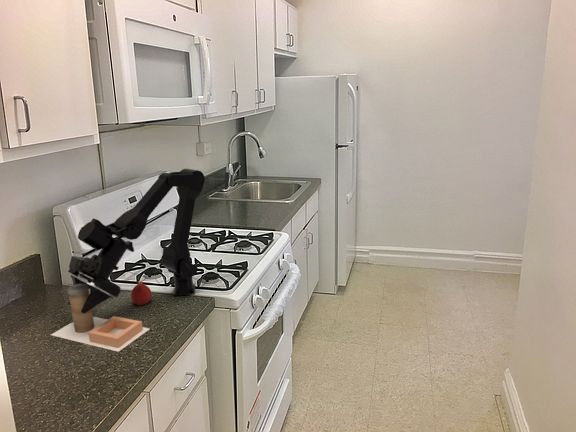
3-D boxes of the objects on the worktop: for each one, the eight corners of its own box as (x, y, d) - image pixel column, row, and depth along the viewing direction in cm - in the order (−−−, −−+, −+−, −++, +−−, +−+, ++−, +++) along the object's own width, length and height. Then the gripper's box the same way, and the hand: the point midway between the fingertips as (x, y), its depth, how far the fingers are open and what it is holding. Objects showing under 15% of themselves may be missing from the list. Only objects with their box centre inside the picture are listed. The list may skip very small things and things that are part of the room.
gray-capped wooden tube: (77, 324, 135) (70, 284, 132) (96, 322, 136) (89, 282, 133) (72, 333, 130) (65, 292, 127) (92, 331, 131) (85, 290, 128)
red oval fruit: (147, 311, 144) (143, 286, 142) (129, 309, 146) (125, 285, 143) (155, 302, 150) (153, 278, 148) (138, 301, 151) (135, 277, 149)
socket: (114, 324, 135) (113, 316, 134) (142, 329, 131) (141, 321, 130) (89, 341, 126) (88, 332, 126) (118, 347, 123) (117, 338, 122)
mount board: (51, 338, 131) (50, 334, 130) (85, 318, 141) (85, 314, 141) (119, 355, 121) (118, 351, 121) (150, 332, 132) (149, 328, 132)
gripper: (69, 237, 136) (35, 287, 131) (103, 251, 123) (67, 306, 119) (100, 255, 143) (69, 303, 139) (135, 270, 131) (102, 323, 126)
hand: (76, 308), depth 130 cm, fingers open, 7 cm apart
